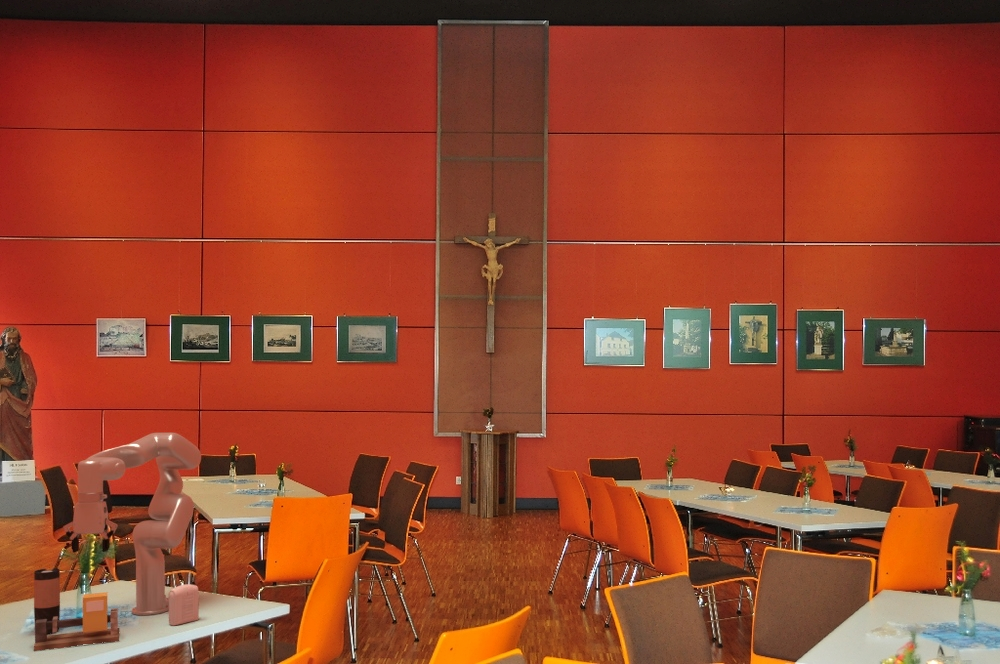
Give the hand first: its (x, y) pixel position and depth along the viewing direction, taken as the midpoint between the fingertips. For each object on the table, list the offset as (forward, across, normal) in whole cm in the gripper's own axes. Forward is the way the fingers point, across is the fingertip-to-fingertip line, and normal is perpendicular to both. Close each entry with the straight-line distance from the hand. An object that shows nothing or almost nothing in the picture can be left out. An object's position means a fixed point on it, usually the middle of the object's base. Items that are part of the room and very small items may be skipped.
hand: (90, 551), depth 311 cm
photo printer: (+26, -26, -12) cm, 39 cm away
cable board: (+26, 0, +9) cm, 28 cm away
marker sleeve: (+23, -5, +8) cm, 25 cm away
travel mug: (+26, +16, -3) cm, 31 cm away
